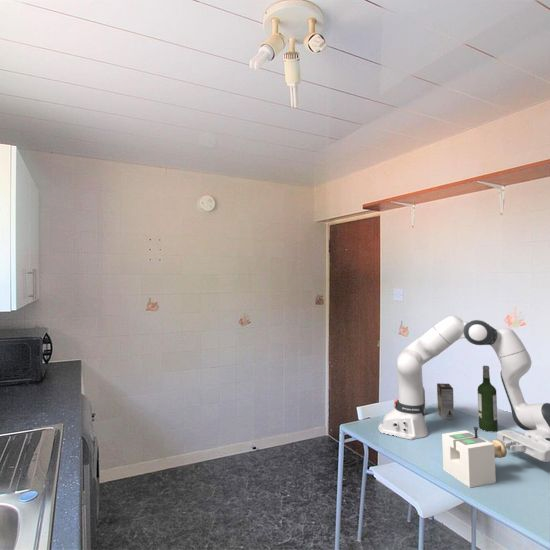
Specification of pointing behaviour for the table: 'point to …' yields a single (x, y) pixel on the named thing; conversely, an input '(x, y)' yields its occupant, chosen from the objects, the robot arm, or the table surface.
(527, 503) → the table surface
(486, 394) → the wine bottle
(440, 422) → the table surface
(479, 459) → the tuner housing
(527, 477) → the table surface
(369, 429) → the table surface
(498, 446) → the peg
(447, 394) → the coffee box
